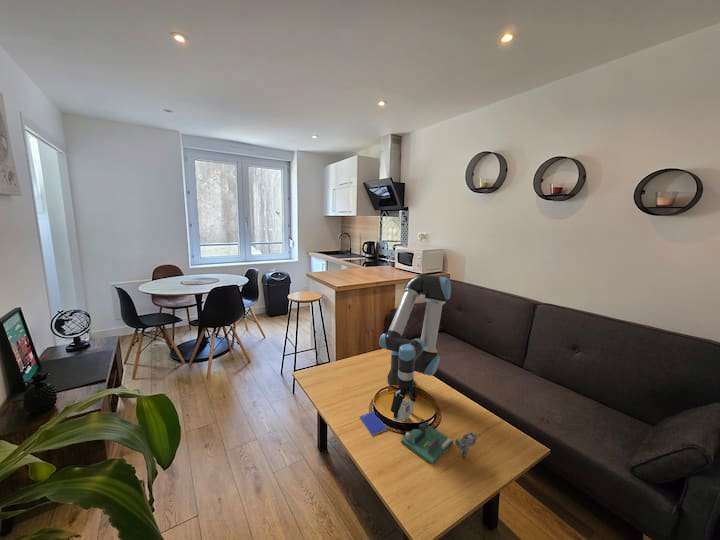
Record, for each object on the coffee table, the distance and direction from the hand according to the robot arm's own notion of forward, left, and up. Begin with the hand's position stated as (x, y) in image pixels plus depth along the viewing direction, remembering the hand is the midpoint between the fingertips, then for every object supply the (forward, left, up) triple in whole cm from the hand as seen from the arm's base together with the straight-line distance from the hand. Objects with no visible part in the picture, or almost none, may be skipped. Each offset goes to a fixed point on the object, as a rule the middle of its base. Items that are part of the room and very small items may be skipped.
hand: (403, 417), depth 148 cm
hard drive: (+14, -7, -1) cm, 16 cm away
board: (+5, +17, 0) cm, 18 cm away
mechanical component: (0, +32, 0) cm, 32 cm away
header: (+7, +18, +1) cm, 19 cm away
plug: (0, 0, 0) cm, 0 cm away
